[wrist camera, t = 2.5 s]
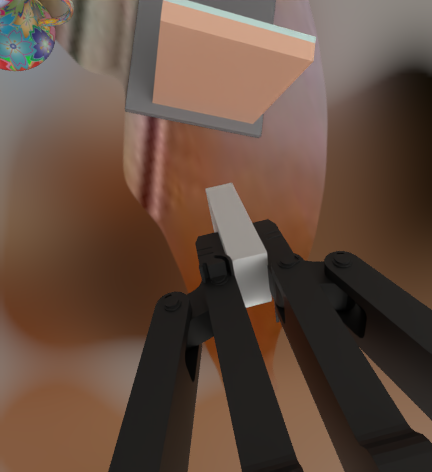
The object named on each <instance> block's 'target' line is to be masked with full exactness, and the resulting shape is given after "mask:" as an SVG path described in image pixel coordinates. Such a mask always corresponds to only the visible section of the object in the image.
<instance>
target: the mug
mask: <svg viewBox="0 0 432 472" xmlns="http://www.w3.org/2000/svg"><path fill="white" fill-rule="evenodd" d="M61 1H63V2H64V3H65V4H66V5H67V7H68V11H67V12H66V13H65V14H64V15H62V16H59V17H55V18H51V16H50V14H49V13H48V11H47V10H46V8H45V7H44V6H43V5H42V4H41V3H40V2H39V1H38V0H0V69H4V70H9V71H23V70H27V69H31V68H33V67H36V66H38V65H39V64H41V63H42V62H43V61H44V60H45V59H47V57H48V56H49V54H50V53H51V52H52V49H53V47H54V43H55V27H54V26H57V25H61V24H64V23H66V22H67V21H68V20H70V18H71V17H72V15H73V11H74V5H73V2H72V0H61Z"/></svg>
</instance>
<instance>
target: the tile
mask: <svg viewBox="0 0 432 472" xmlns="http://www.w3.org/2000/svg"><path fill="white" fill-rule="evenodd" d="M315 39H316V37H314V36H310V35H307V34H303V33H300V32H296V31H293V30H289V29H286V28H282V27H279V26H276V25H272V24H269V23H265V22H262V21H258V20H255V19H251V18H248V17H244V16H241V15H237V14H234V13H230V12H227V11H223V10H220V9H216V8H213V7H209V6H206V5H202V4H199V3H195V2H192V1H188V0H163V4H162V12H161V20H160V30H159V40H158V50H157V61H156V71H155V81H154V91H153V102H152V103H155V104H160V105H165V106H169V107H174V108H179V109H184V110H188V111H193V112H198V113H203V114H207V115H212V116H217V117H222V118H226V119H231V120H236V121H241V122H246V123H250V124H253V123H254V122H255V121H256V120H257V119H258V118H259V117H260V116H261V115H262V114H263V113H264V112H265V111H266V110H267V109H268V108H269V107H270V106H271V105H272V104H273V103H274V102H275V101H276V100H277V99H278V98H279V96H280V95H281V94H282V93H283V92H284V91H285V90H286V89H287V88H288V87H289V86H290V85H291V84H292V83H293V82H294V81H295V80H296V79H297V78H298V77H299V76H300V75H301V74H302V73H303V72H304V71H305V69H306V68H307V67H308V66H309V65H310V64H311V63H312V62H313V59H314V49H315Z"/></svg>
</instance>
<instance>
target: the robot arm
mask: <svg viewBox="0 0 432 472" xmlns="http://www.w3.org/2000/svg"><path fill="white" fill-rule="evenodd" d="M206 194H207V199H208V204H209V209H210V213H211V218H212V223H213V228H214V232H215V233H211V234H207V235H203V236H198V238H197V241H196V243H195V244H196V249H197V254H198V259H199V270H200V274H201V277H202V282H201V284H200V285H199V287H198V288H197V289H196V290H194V291H193V292H191V293H189V294H187V295H186V294H184V293H182V292H172V293H168V294H166V295H164V296H162V297H161V298H160V299H159V300H158V303H157V304H156V306H155V310H154V313H153V317H152V321H151V324H150V327H149V331H148V334H147V338H146V341H145V345H144V348H143V352H142V355H141V359H140V362H139V366H138V369H137V373H136V377H135V380H134V383H133V387H132V390H131V394H130V397H129V401H128V404H127V408H126V411H125V415H124V418H123V422H122V426H121V429H120V433H119V436H118V440H117V443H116V447H115V450H114V454H113V457H112V461H111V464H110V468H109V471H108V472H187V471H188V463H189V453H190V445H191V437H192V429H193V420H194V411H195V403H196V394H197V386H198V377H199V369H200V360H201V351H202V343H203V342H205V341H206V340H208V339H210V338H211V337H213V336H214V339H215V343H216V348H217V353H218V358H219V363H220V368H221V372H222V377H223V382H224V387H225V392H226V397H227V401H228V406H229V411H230V416H231V421H232V425H233V430H234V435H235V440H236V445H237V449H238V454H239V459H240V464H241V469H242V472H303V469H302V467H301V465H300V464H299V462H298V460H297V458H296V455H295V452H294V449H293V446H292V443H291V440H290V437H289V434H288V431H287V428H286V425H285V422H284V419H283V417H282V413H281V411H280V408H279V405H278V402H277V399H276V396H275V393H274V390H273V387H272V384H271V381H270V378H269V375H268V372H267V369H266V366H265V363H264V360H263V357H262V354H261V351H260V348H259V345H258V342H257V339H256V337H255V334H254V331H253V328H252V325H251V322H250V319H249V316H248V313H247V310H246V307H250V306H254V305H258V304H262V303H266V302H270V301H272V299H271V294H272V297H273V299H274V302H275V313H276V322H279V320H280V322H281V324H282V327H283V329H284V331H285V333H286V336H287V338H288V340H289V343H290V345H291V348H292V350H293V352H294V355H295V357H296V359H297V362H298V364H299V366H300V368H301V371H302V373H303V375H304V378H305V380H306V382H307V385H308V387H309V390H310V392H311V394H312V397H313V399H314V401H315V403H316V406H317V408H318V410H319V413H320V415H321V418H322V419H323V422H324V424H325V427H326V429H327V432H328V434H329V436H330V438H331V441H332V443H333V446H334V448H335V450H336V453H337V455H338V457H339V460H340V462H341V464H342V466H343V469H344V471H345V472H432V443H431V442H430V441H429V440H428V439H427V438H426V437H425V436H424V435H423V434H420V433H417V432H415V431H414V430H413V429H411V428H410V426H409V425H408V424H407V422H406V421H405V419H404V417H403V416H402V414H401V413H400V411H399V409H398V408H397V406H396V405H395V403H394V401H393V400H392V398H391V397H390V395H389V394H388V392H387V391H386V389H385V387H384V386H383V384H382V383H381V381H380V379H379V378H378V376H377V375H376V373H375V372H374V370H373V369H372V367H371V365H370V364H369V362H368V361H367V359H366V357H365V356H364V354H363V353H362V351H361V350H360V348H361V349H362V350H363V351H364V352H365V353H366V354H367V355H368V356H369V358H370V359H371V360H372V361H373V362H374V363H376V365H377V366H378V367H380V368H381V370H382V371H383V372H384V373H385V374H386V375H387V376H388V377H389V378H390V379H391V380H392V381H393V382H394V383H395V384H396V385H397V386H398V387H399V388H400V389H401V390H402V391H403V392H404V393H405V394H406V395H407V396H408V397H409V398H410V399H411V400H412V401H413V402H414V403H415V404H416V405H417V406H418V407H419V408H420V409H421V410H422V411H423V412H424V413H425V414H426V415H427V416H428V417H429V418H430V419H431V420H432V310H431V309H430V308H428V307H427V306H425V305H424V304H422V303H421V302H419V301H418V300H417V299H415V298H414V297H413V296H411V295H410V294H409V293H407V292H406V291H404V290H403V289H402V288H400V287H399V286H397V285H396V284H395V283H393V282H392V281H391V280H389V279H388V278H386V277H385V276H384V275H382V274H381V273H379V272H378V271H377V270H375V269H374V268H372V267H371V266H370V265H368V264H367V263H365V262H364V261H362V260H361V259H360V258H358V257H357V256H356V255H354V254H352V253H349V252H345V251H336V252H333V253H330V254H328V255H327V256H326V258H325V259H324V262H312V261H305V260H303V258H302V257H300V256H299V255H297V254H295V253H293V252H292V250H291V248H290V247H289V245H288V243H287V242H286V240H285V239H284V237H283V236H282V234H281V232H280V231H279V229H278V227H277V226H276V224H275V223H273V222H272V221H270V220H268V219H267V220H263V221H259V222H255V223H252V222H251V220H250V218H249V216H248V214H247V212H246V210H245V208H244V206H243V204H242V202H241V200H240V198H239V196H238V194H237V192H236V190H235V188H234V186H233V184H232V183H228V184H224V185H219V186H215V187H211V188H206ZM359 347H360V348H359Z"/></svg>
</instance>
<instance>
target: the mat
mask: <svg viewBox="0 0 432 472" xmlns="http://www.w3.org/2000/svg"><path fill="white" fill-rule="evenodd" d="M188 1H192V2H195V3H199V4H202V5H206V6H209V7H213V8H216V9H220V10H223V11H227V12H230V13H234V14H237V15H241V16H244V17H248V18H251V19H255V20H258V21H262V22H265V23H269V24H272V25H273V21H274V11H275V2H276V0H188ZM162 4H163V0H139V5H138V12H137V20H136V28H135V36H134V44H133V51H132V59H131V67H130V75H129V82H128V90H127V98H126V106H125V111H126V112H131V113H136V114H141V115H146V116H151V117H156V118H161V119H166V120H171V121H176V122H181V123H186V124H191V125H196V126H201V127H206V128H211V129H216V130H221V131H226V132H231V133H236V134H241V135H246V136H251V137H256V138H259V137H260V136H261V132H262V122H263V114H262V115H261V116H260V117H259V118H258V119H257V120H256V121H255V122H254V123H253V124H250V123H246V122H241V121H236V120H231V119H226V118H222V117H217V116H212V115H207V114H203V113H198V112H193V111H188V110H184V109H179V108H174V107H169V106H165V105H160V104H155V103H152V102H153V91H154V81H155V71H156V61H157V50H158V40H159V30H160V20H161V12H162Z"/></svg>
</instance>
